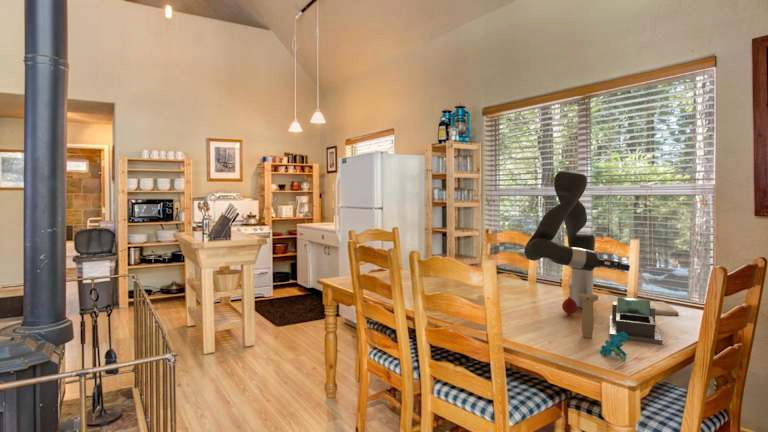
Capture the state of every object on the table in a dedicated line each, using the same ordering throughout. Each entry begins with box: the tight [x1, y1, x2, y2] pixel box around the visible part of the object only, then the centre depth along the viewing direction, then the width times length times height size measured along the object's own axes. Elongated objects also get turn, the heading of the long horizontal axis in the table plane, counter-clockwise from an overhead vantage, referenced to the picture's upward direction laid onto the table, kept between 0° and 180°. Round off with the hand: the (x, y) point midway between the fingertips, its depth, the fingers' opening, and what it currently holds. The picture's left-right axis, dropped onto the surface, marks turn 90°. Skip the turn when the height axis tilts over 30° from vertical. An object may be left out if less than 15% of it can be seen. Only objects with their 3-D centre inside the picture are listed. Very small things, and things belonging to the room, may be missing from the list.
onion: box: [561, 295, 578, 316], centre depth 190 cm, size 6×6×8 cm
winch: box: [608, 296, 663, 345], centre depth 170 cm, size 16×28×10 cm, turn 153°
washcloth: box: [650, 300, 679, 316], centre depth 199 cm, size 12×18×3 cm, turn 168°
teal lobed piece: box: [599, 332, 628, 362], centre depth 143 cm, size 11×6×10 cm
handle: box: [578, 294, 599, 339], centre depth 162 cm, size 5×6×15 cm
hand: (622, 267), depth 167 cm, fingers open, 8 cm apart
